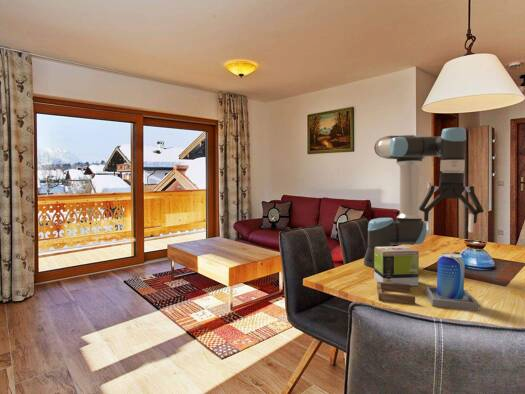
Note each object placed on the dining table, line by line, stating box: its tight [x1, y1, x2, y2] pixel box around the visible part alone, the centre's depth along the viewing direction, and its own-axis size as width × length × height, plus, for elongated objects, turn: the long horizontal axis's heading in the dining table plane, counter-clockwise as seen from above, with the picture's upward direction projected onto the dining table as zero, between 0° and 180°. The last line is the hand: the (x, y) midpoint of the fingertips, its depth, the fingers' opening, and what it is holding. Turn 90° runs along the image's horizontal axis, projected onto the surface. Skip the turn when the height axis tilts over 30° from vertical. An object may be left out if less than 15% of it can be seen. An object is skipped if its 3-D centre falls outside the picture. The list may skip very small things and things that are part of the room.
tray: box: [424, 285, 480, 312], centre depth 120 cm, size 14×14×2 cm
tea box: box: [373, 245, 420, 287], centre depth 140 cm, size 15×10×15 cm
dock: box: [376, 281, 416, 305], centre depth 126 cm, size 13×12×2 cm
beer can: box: [436, 252, 466, 301], centre depth 120 cm, size 8×8×16 cm
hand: (449, 231), depth 120 cm, fingers open, 13 cm apart
